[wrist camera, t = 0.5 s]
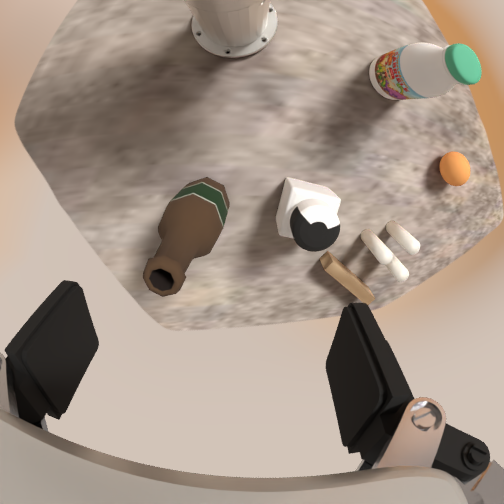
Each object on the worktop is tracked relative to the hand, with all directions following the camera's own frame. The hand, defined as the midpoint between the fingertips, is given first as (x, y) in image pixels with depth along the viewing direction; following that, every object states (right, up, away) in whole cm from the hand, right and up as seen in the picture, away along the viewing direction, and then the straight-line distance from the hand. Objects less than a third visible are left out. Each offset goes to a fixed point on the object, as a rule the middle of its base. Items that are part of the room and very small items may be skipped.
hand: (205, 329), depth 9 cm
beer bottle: (-6, +11, +35) cm, 37 cm away
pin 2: (+25, +3, +38) cm, 46 cm away
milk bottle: (+23, +30, +25) cm, 46 cm away
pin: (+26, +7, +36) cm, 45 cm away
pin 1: (+21, +5, +37) cm, 43 cm away
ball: (+36, +17, +28) cm, 49 cm away
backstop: (+18, -1, +40) cm, 44 cm away
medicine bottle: (+9, +10, +35) cm, 38 cm away
